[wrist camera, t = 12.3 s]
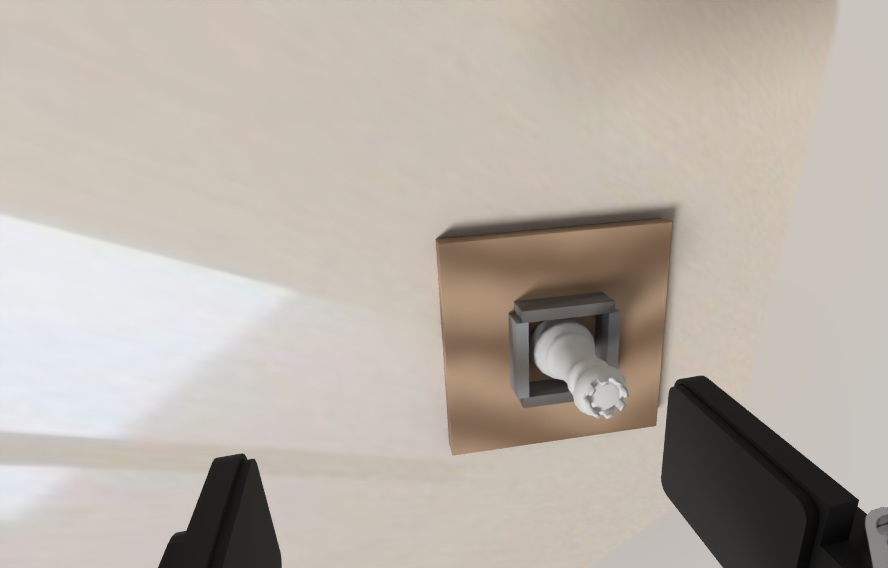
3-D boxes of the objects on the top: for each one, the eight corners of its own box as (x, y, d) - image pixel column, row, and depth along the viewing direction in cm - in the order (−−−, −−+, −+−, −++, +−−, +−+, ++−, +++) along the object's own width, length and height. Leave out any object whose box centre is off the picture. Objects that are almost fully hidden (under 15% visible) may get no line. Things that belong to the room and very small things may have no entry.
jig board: (435, 238, 34) (443, 251, 31) (660, 218, 36) (690, 227, 33) (449, 443, 39) (457, 473, 36) (646, 415, 41) (670, 441, 38)
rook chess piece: (526, 373, 37) (568, 439, 29) (526, 315, 35) (570, 368, 28) (586, 366, 37) (642, 429, 30) (588, 308, 36) (647, 359, 28)
